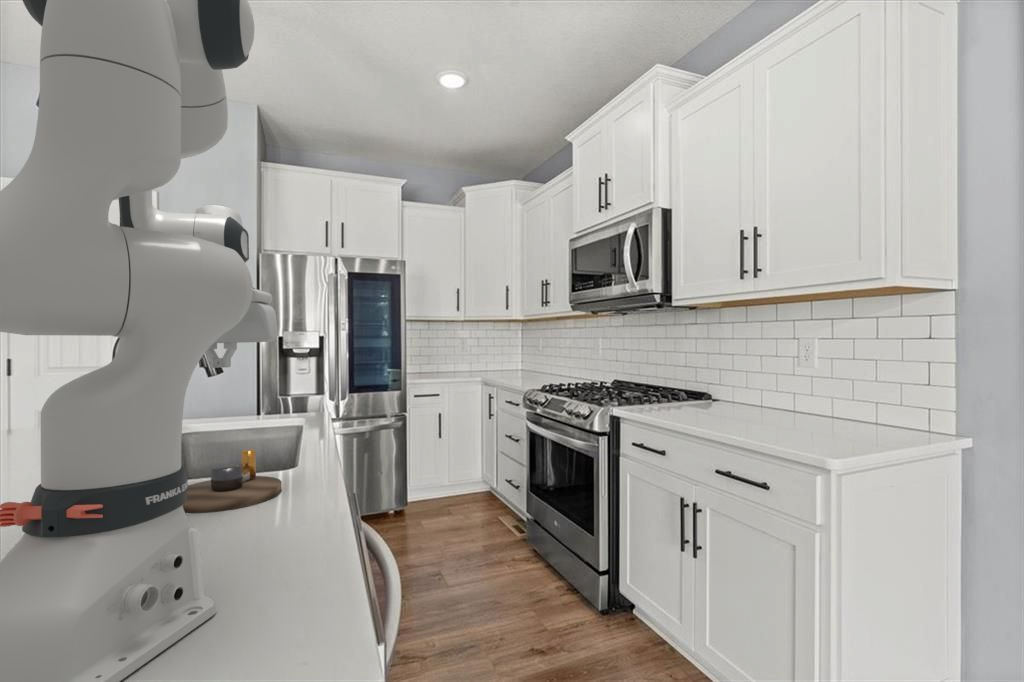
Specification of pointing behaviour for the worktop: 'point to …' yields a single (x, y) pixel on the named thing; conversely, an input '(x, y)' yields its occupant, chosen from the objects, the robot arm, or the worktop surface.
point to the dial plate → (231, 495)
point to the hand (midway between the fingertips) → (220, 367)
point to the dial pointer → (234, 472)
